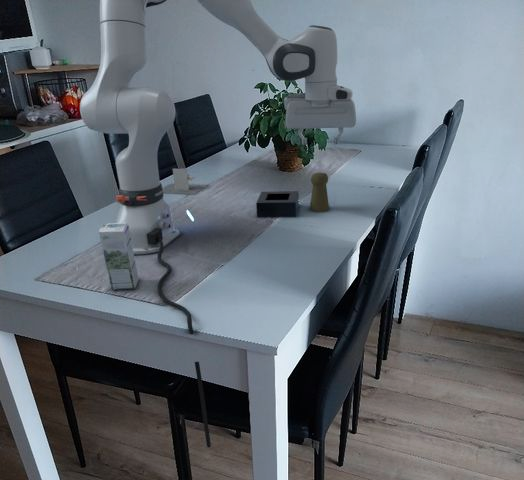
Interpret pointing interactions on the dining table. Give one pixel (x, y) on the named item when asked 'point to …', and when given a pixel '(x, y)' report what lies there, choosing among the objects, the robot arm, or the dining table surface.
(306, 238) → the dining table surface
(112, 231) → the syrup box
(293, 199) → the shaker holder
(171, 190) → the architectural model
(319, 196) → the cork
